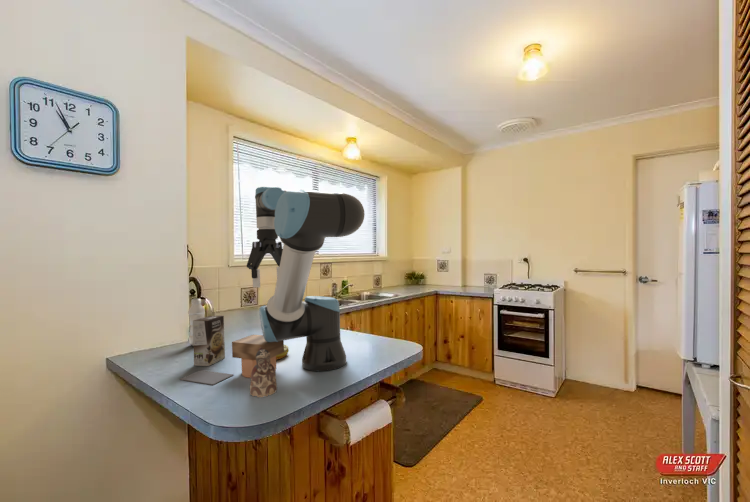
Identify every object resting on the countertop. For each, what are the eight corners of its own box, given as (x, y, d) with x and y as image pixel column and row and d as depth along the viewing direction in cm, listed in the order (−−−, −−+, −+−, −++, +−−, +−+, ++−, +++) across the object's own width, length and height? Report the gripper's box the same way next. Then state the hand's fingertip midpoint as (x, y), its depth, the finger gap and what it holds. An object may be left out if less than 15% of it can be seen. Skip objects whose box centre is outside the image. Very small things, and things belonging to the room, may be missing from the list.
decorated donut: (250, 358, 124) (250, 347, 124) (279, 350, 132) (278, 340, 132) (264, 364, 116) (264, 353, 116) (294, 356, 124) (293, 345, 124)
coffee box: (209, 366, 116) (207, 320, 116) (193, 365, 117) (191, 320, 117) (226, 357, 125) (224, 315, 125) (211, 357, 126) (209, 315, 126)
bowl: (282, 367, 112) (281, 351, 112) (260, 379, 102) (260, 361, 102) (257, 364, 116) (257, 348, 116) (234, 375, 106) (234, 358, 106)
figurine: (250, 399, 89) (249, 354, 89) (249, 389, 95) (247, 347, 95) (278, 393, 92) (276, 350, 92) (275, 384, 98) (273, 344, 98)
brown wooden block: (284, 351, 111) (283, 337, 111) (264, 361, 102) (264, 345, 102) (253, 348, 116) (252, 334, 116) (232, 357, 107) (231, 341, 107)
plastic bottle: (185, 347, 141) (183, 300, 141) (196, 342, 148) (194, 298, 148) (199, 347, 140) (197, 300, 140) (209, 343, 147) (207, 297, 147)
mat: (233, 375, 107) (233, 374, 107) (212, 385, 99) (212, 384, 99) (201, 370, 112) (201, 369, 112) (179, 379, 104) (179, 378, 104)
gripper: (279, 230, 138) (281, 281, 138) (234, 228, 115) (236, 289, 115) (295, 229, 135) (296, 281, 136) (251, 226, 112) (253, 289, 112)
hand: (269, 285), depth 125 cm, fingers open, 13 cm apart
